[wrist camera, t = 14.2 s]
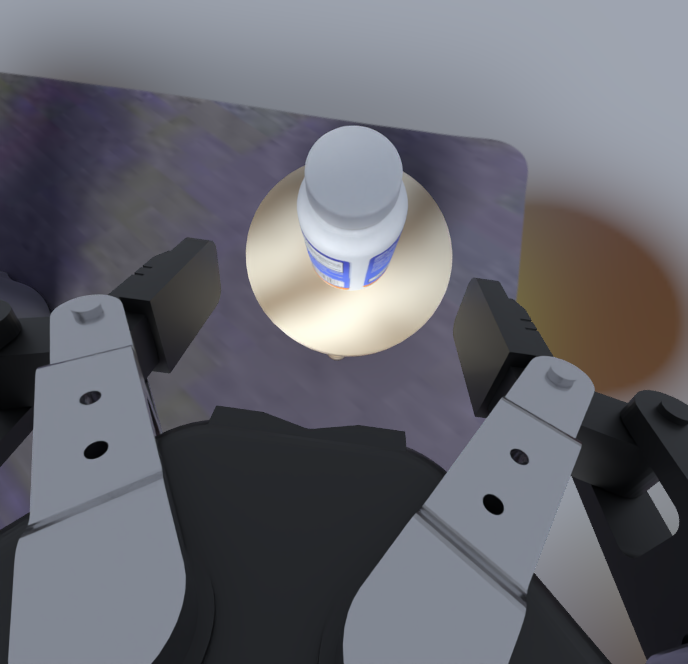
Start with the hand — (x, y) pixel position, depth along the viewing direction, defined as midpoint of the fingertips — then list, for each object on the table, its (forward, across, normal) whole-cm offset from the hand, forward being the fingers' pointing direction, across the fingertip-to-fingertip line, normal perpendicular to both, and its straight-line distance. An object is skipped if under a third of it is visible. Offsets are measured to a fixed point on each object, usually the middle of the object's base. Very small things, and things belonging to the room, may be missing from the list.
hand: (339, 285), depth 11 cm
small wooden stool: (+19, 0, +12) cm, 22 cm away
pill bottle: (+12, 0, +5) cm, 13 cm away
